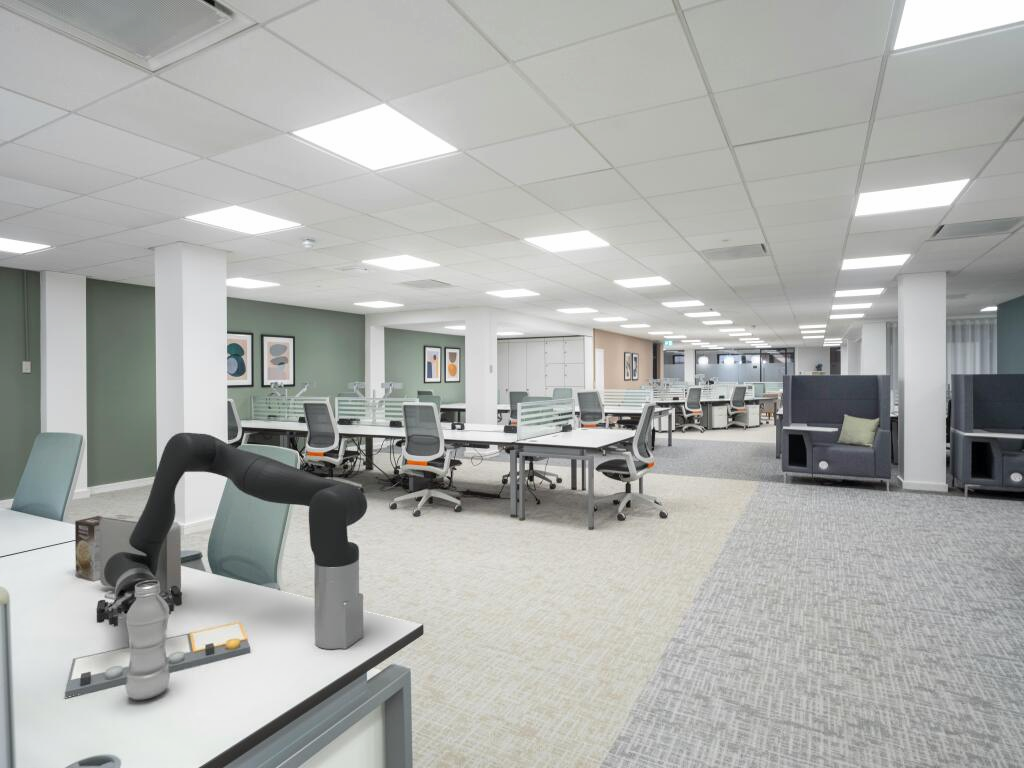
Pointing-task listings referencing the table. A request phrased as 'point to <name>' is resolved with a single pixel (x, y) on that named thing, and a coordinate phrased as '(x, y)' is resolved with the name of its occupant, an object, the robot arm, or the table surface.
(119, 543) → the network device
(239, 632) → the board
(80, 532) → the coffee box
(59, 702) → the table surface
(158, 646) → the plastic bottle
